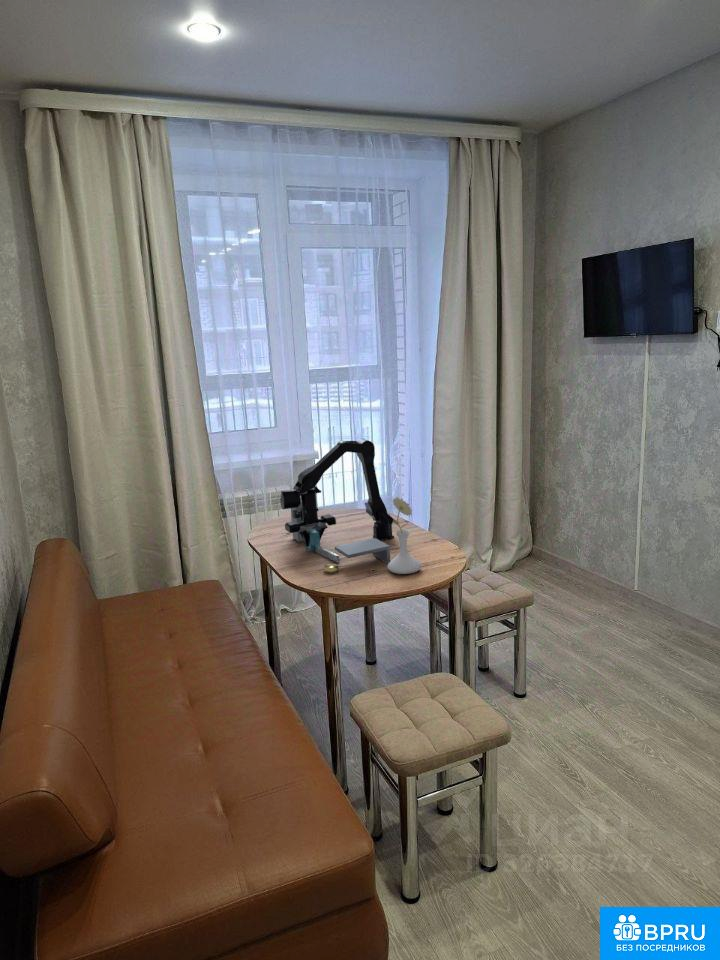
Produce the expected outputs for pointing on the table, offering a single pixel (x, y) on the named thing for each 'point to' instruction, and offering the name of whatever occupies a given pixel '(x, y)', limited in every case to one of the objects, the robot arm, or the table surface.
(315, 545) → the blade tool
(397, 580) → the table surface
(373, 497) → the robot arm
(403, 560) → the flower in vase
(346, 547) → the shelf
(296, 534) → the skincare box
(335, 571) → the token
